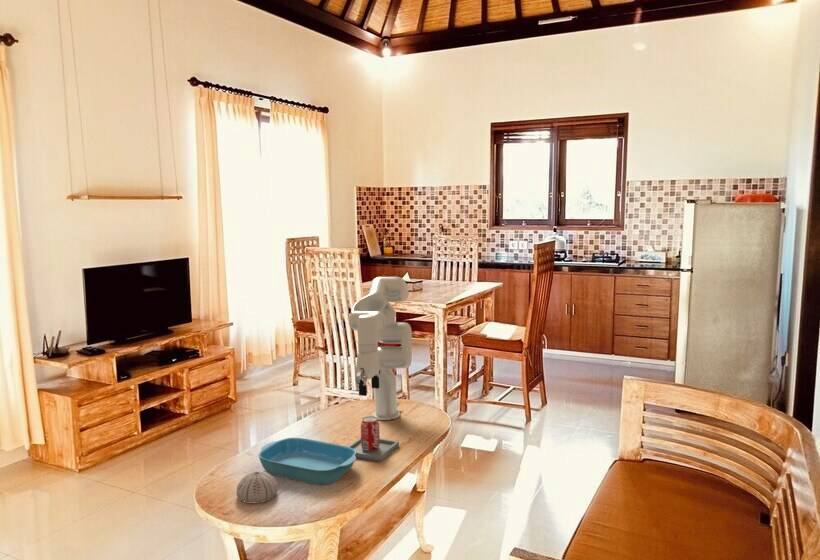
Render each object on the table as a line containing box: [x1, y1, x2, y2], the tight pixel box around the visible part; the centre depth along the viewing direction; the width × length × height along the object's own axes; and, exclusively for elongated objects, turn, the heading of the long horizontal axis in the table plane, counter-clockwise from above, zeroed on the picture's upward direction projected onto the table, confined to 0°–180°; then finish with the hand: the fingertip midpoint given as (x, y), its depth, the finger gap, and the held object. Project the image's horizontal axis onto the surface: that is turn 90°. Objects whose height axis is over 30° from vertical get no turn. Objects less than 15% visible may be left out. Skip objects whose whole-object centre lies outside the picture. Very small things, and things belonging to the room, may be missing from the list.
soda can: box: [360, 415, 381, 452], centre depth 228 cm, size 7×7×12 cm
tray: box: [347, 436, 400, 463], centre depth 229 cm, size 16×16×2 cm
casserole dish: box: [258, 437, 357, 486], centre depth 212 cm, size 37×22×7 cm, turn 66°
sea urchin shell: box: [235, 470, 279, 503], centre depth 193 cm, size 13×14×8 cm
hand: (369, 391), depth 226 cm, fingers open, 9 cm apart
